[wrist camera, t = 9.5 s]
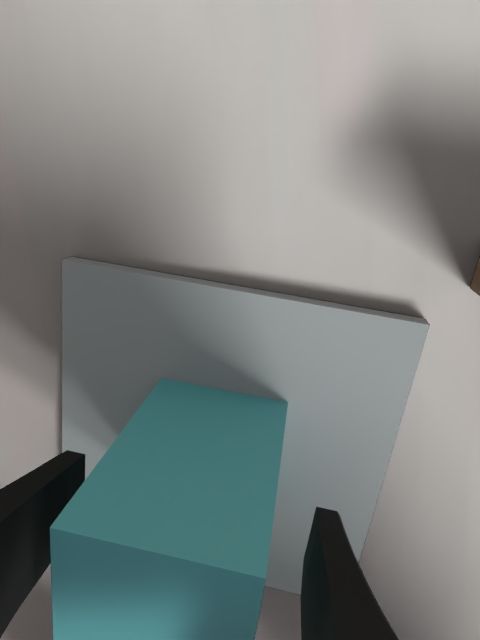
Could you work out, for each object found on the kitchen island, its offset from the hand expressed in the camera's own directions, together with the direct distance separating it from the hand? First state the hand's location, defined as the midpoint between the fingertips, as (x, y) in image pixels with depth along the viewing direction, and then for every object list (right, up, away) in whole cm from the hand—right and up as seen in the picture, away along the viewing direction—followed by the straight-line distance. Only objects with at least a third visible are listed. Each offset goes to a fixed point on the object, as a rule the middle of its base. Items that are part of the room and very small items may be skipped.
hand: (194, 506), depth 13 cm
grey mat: (+1, +1, +3) cm, 4 cm away
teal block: (+1, +1, +3) cm, 3 cm away
